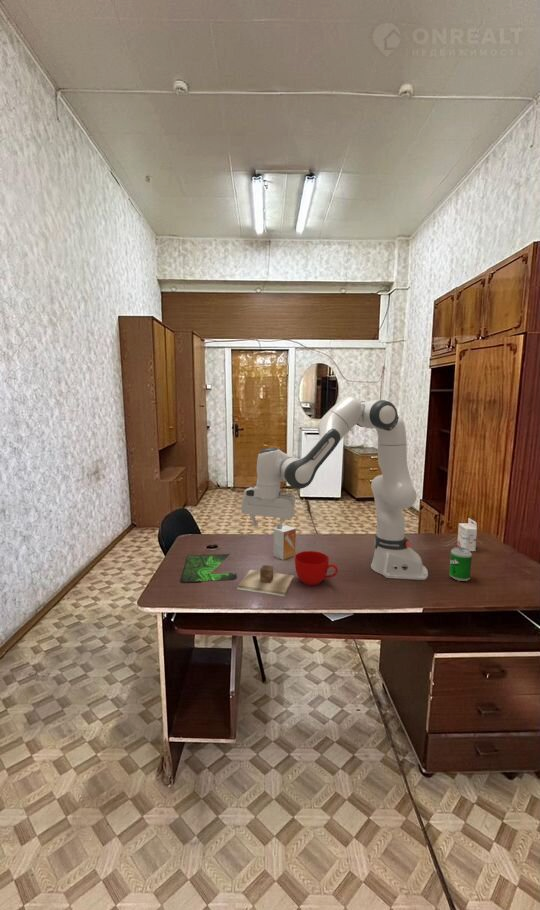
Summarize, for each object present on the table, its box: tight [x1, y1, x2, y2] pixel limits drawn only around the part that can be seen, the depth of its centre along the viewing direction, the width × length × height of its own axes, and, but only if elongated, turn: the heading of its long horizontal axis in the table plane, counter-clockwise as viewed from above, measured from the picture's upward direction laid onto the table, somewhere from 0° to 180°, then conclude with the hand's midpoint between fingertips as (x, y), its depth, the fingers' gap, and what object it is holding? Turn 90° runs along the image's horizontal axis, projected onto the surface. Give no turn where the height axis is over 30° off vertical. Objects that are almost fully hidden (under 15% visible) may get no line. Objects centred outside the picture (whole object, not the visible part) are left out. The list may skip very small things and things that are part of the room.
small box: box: [273, 524, 297, 561], centre depth 171 cm, size 8×6×13 cm
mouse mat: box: [179, 553, 238, 584], centre depth 159 cm, size 27×22×1 cm
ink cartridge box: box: [456, 517, 478, 552], centre depth 181 cm, size 9×5×15 cm, turn 179°
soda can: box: [448, 546, 473, 582], centre depth 150 cm, size 8×8×12 cm
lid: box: [237, 564, 295, 596], centre depth 145 cm, size 18×14×6 cm
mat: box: [236, 587, 286, 597], centre depth 145 cm, size 18×16×1 cm
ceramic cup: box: [294, 550, 339, 586], centre depth 145 cm, size 13×17×10 cm
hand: (267, 527), depth 143 cm, fingers open, 8 cm apart
